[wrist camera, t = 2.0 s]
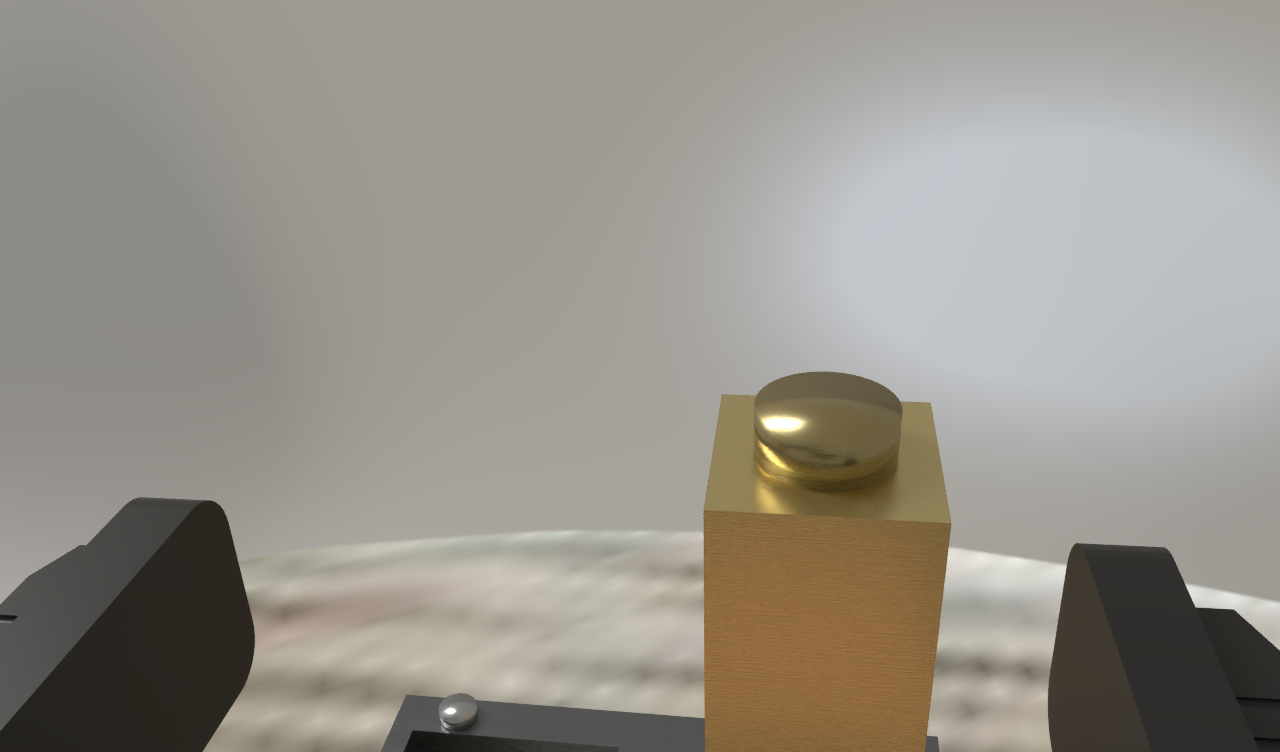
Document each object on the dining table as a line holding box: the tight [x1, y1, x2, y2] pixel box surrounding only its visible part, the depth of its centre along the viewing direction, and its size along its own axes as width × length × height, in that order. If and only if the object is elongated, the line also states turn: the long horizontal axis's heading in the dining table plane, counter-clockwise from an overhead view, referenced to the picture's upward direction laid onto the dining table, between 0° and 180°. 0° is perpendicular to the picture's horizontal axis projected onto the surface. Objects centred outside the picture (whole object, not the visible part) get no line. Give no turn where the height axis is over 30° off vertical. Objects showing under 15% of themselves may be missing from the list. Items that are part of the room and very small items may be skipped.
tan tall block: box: [704, 372, 951, 752], centre depth 29 cm, size 5×5×17 cm
